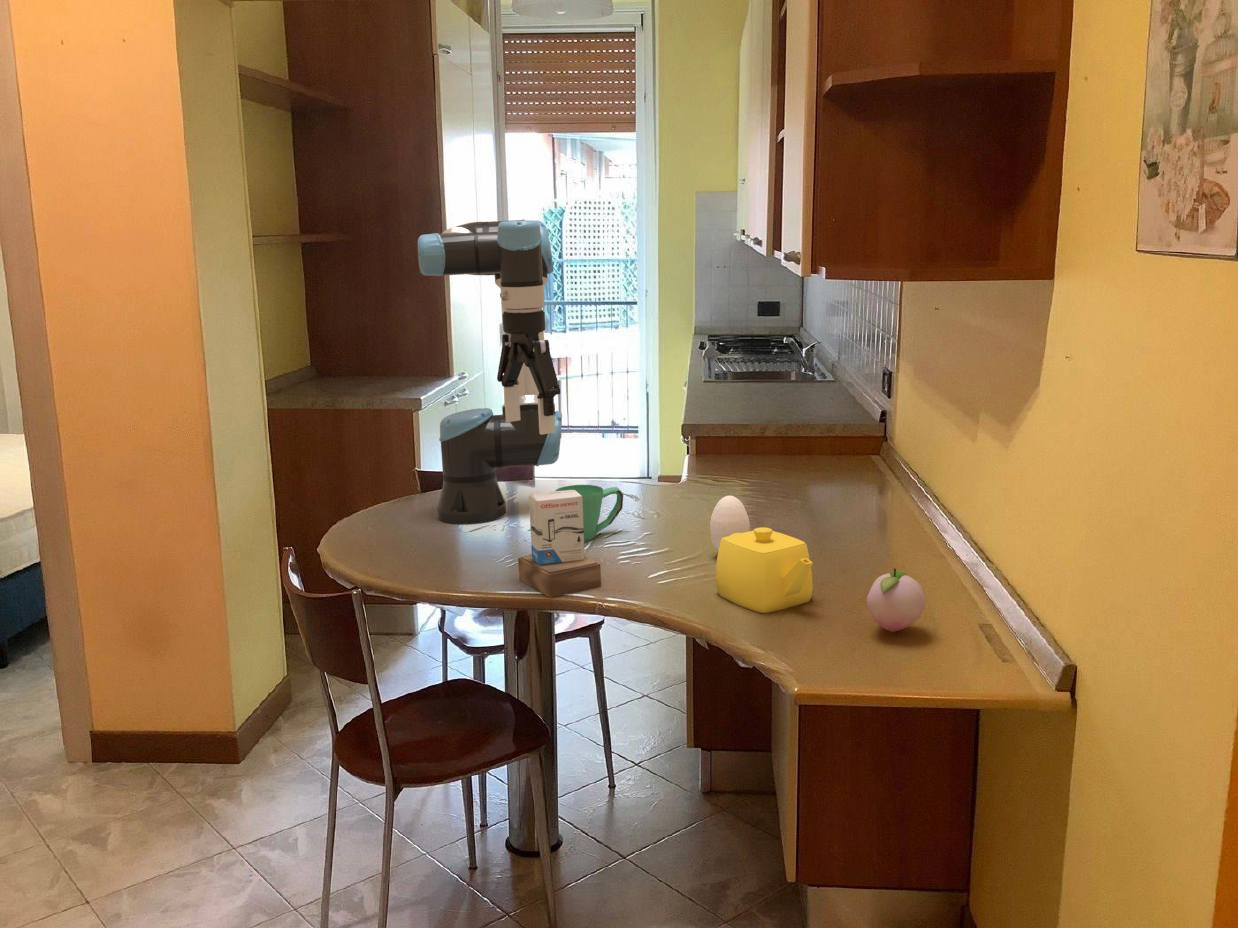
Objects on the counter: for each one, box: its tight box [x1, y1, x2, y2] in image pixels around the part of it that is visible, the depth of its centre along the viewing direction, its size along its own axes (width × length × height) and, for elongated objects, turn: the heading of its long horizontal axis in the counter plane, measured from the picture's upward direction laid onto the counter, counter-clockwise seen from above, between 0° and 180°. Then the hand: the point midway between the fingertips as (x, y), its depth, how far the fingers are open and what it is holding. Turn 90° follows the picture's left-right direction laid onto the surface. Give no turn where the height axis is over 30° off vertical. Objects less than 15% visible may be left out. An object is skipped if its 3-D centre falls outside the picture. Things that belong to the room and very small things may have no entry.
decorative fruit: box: [866, 567, 926, 633], centre depth 155 cm, size 9×8×10 cm
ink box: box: [528, 490, 585, 565], centre depth 182 cm, size 9×5×12 cm, turn 108°
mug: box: [554, 484, 624, 542], centre depth 211 cm, size 15×10×10 cm
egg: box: [709, 495, 751, 552], centre depth 194 cm, size 7×7×12 cm
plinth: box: [517, 553, 602, 599], centre depth 183 cm, size 12×10×4 cm
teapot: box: [715, 527, 814, 614], centre depth 171 cm, size 20×12×12 cm, turn 32°
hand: (529, 427), depth 190 cm, fingers open, 13 cm apart
